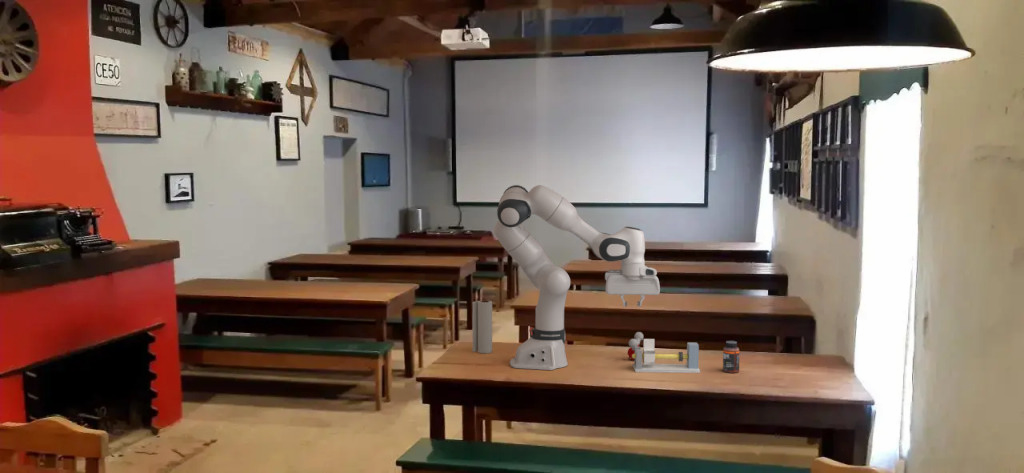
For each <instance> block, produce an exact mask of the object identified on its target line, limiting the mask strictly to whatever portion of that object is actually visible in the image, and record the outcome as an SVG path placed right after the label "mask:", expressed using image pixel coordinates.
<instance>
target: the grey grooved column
mask: <svg viewBox="0 0 1024 473" xmlns="http://www.w3.org/2000/svg"><path fill="white" fill-rule="evenodd" d="M474 352H477V353H479V354H492V352H493V301H492V300H476V301H472V353H474Z"/></svg>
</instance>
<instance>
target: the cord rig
mask: <svg viewBox="0 0 1024 473" xmlns="http://www.w3.org/2000/svg"><path fill="white" fill-rule="evenodd" d="M699 346H700V345H699V344H698V342H691V341H690V342H687V344H686V353H684V352H683V351H678V353H677V354H676V353H655V360H678V362H683V361H684V360H686V363H655V365H644V363H643V359H644V354H643V348H642V349H641V346H639V347H635V354H632V358H634V359H635V360H633V363H632V367H633V370H634V372H635V373H671V374H674V373H675V374H676V373H677V374H678V373H684V374H685V373H686V374H687V373H688V374H689V373H690V374H692V373H693V374H697V373H698V374H700V373H701V369H700V368H699V359H700V358H699V357H700V356H699V352H700V351H699V349H700V347H699Z"/></svg>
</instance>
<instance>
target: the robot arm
mask: <svg viewBox="0 0 1024 473" xmlns="http://www.w3.org/2000/svg"><path fill="white" fill-rule="evenodd" d="M496 215H497V216H496V217H497V219H498V220H497V221H496V222H495V225H494V226H493V227H494V228H493V233H494V235H495V236H496V238H497V240H498V241H499V243H500V244H501V246H502V248H504V249H505V251H506V252H507V253H508V254H509V255H510V257H511V258H512V259H513V260H514V261H515V263H516V264H517V265H518V266H519V267H520V269H521V270H522V272H524V274H525V275H526V276H527V278H528V279H529V281H530V282H531V283H532V284H533V286H534V287H535V288H536V289H538V290H539V295H538V300H537V305H536V306H535V327H533V326H532V327H529V330H528V332H529V338H528V339H526V341H524V342H523V343H521V344H520V345H519V346H518V347H517V349H516V352H515V357H513V358H511V359H510V360H509V366H510V367H512V368H514V369H526V370H527V369H528V370H541V371H543V370H545V371H552V370H556V369H561V368H564V367H567V366H568V365H569V364H568V359H567V355H566V347H565V343H566V329H565V307H566V300H567V296H568V291H569V289H570V286H571V278H570V276H569V274H568V272H567V271H566V270H565V269H564V268H562V267H560V266H557V265H555V264H554V263H553V262H552V261H551V260H550V258H549V256H547V254H546V252H545V251H544V249H543V247H542V246H541V245H540V244H539V242H538V241H537V240H536V239H535V238H534V236H533V235H532V234H531V233H530V232H529V230H528V229H527V228H526V227H525V226H524V225H523V223H524V222H525V221H526V220H528V219H530V218H531V216H532V215H536V216H538V217H539V218H540V219H542V220H543V221H545V222H546V223H547V224H549V225H551V226H552V227H554V228H556V229H559V230H562V231H565V232H569V233H571V234H573V235H574V236H576V237H577V238H578V239H580V240H582V241H583V242H584V243H585V244H586V245H588V247H589V248H590V249H591V251H592V253H593V255H594V256H595V257H596V258H598V259H600V260H603V261H606V262H611V263H612V262H613V263H614V262H617V261H620V269H609V270H608V271H607V270H606V271H605V274H604V280H605V281H606V282H605V293H606V294H607V295H613V296H615V295H617V296H619V297H620V299H621V301H622V306H623V307H628V301H627V300H625V299H624V298H625V295H628V296H629V295H634V296H635V295H636V296H637V295H639V296H640V299H639V300H638V301H637V302H636V303H637V304H636V307H638V308H639V307H642V303H643V301H644V300H645V298H646V297H645V296H646V295H647V296H649V295H650V296H653V295H654V296H658V295H659V294H660V293H661V286H660V281H659V278H658V276H657V274H658V271H657V269H655V268H654V267H650V266H648V265H645V264H646V261H645V252H646V240H645V238H646V237H645V233H644V231H643V230H642V229H641V228H637V227H633V226H624V227H623V228H621V229H620V230H619V231H616V232H615V233H612V234H609V233H607V232H601V231H599V230H597V229H595V227H592V226H591V225H590V224H588V223H587V222H586V221H584V220H583V219H582V218H581V216H580V215H579V214H578V211H577V208H576V207H575V206H574V205H573V204H572V203H571V202H570V201H569V200H567V198H565V197H564V196H562V195H561V194H559V193H558V192H556V191H555V190H553V189H551V188H549V187H546V186H545V185H541V184H537V185H535V186H533V187H532V188H531V189H530V190H529V191H528V190H527V189H526V188H525V187H524V186H521V185H520V184H516V185H515V184H513V185H511V186H509V187H507V189H505V190H504V192H503V194H502V196H501V197H500V200H499V203H498V206H497V209H496Z"/></svg>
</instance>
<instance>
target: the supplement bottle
mask: <svg viewBox="0 0 1024 473" xmlns="http://www.w3.org/2000/svg"><path fill="white" fill-rule="evenodd" d="M722 349H723V350H722V353H723V354H722V371H723V372H725V373H728V374H736V373H740V372H739V371H740V348H739V347H738V341H735V340H726V341H725V346H724V347H723V348H722Z"/></svg>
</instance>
